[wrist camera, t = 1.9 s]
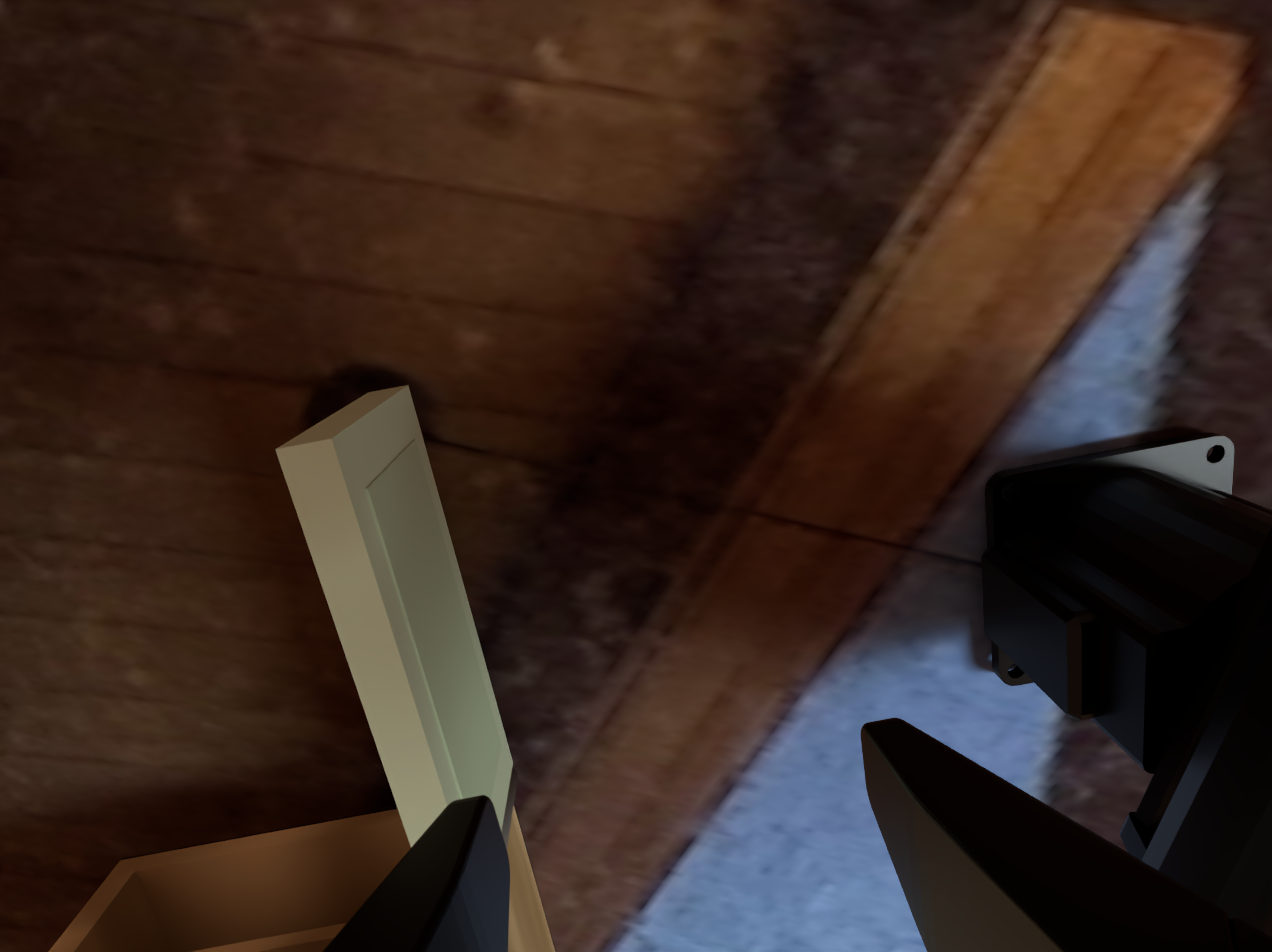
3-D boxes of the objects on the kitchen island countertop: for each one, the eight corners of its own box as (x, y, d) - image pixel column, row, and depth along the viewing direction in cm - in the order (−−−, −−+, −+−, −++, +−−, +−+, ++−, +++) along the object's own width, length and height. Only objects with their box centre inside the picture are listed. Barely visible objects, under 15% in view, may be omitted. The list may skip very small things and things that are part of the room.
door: (522, 788, 22) (497, 964, 16) (487, 794, 22) (451, 972, 16) (411, 383, 18) (332, 439, 13) (369, 391, 18) (272, 451, 13)
